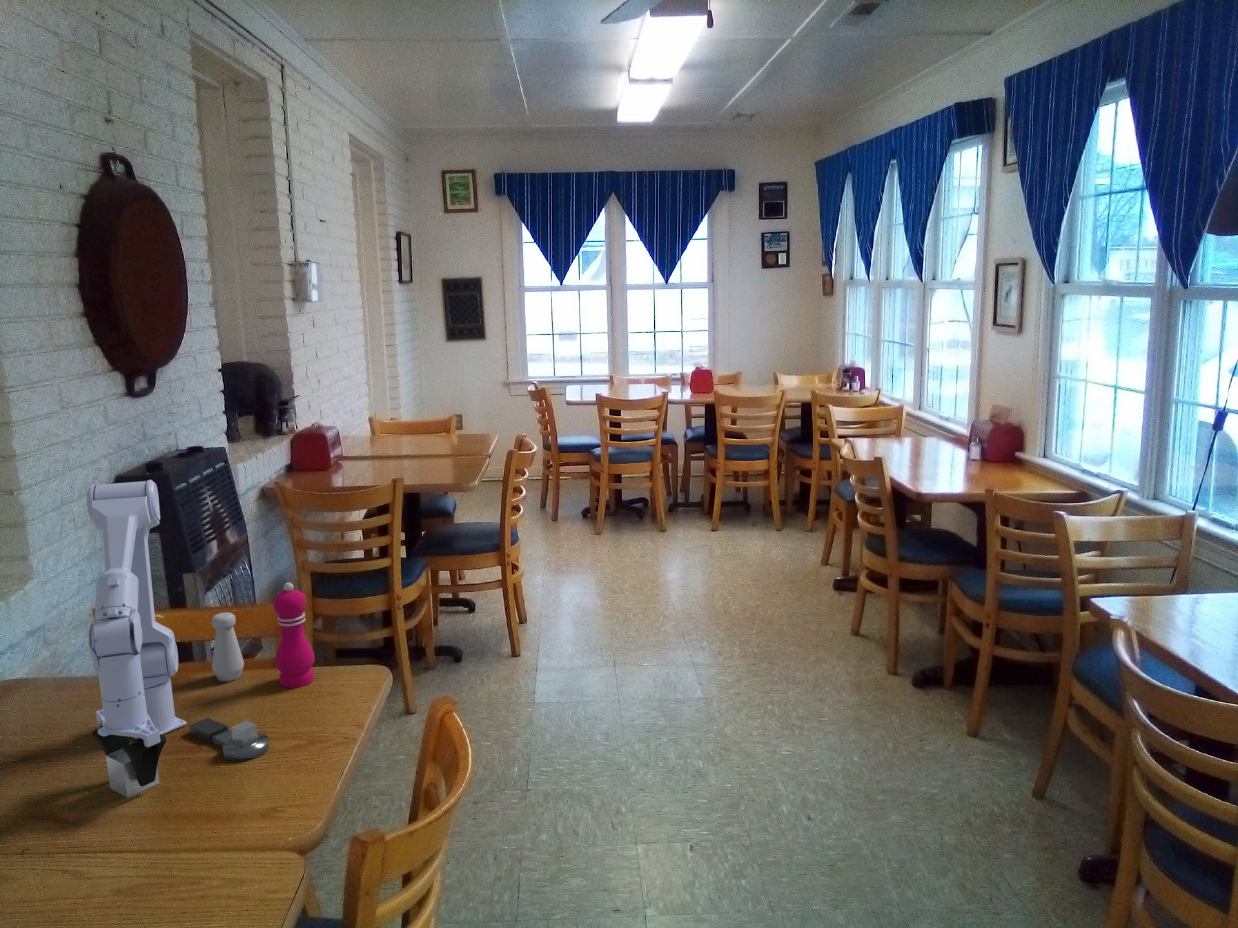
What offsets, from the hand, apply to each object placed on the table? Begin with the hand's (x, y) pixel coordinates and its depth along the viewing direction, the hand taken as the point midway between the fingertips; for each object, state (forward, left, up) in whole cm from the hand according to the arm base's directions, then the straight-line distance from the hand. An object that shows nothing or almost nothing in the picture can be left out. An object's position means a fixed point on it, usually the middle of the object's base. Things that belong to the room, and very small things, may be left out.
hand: (133, 775), depth 142 cm
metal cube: (0, 0, -2) cm, 2 cm away
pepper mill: (-11, +38, -2) cm, 40 cm away
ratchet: (0, +16, -2) cm, 16 cm away
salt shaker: (-24, +32, -2) cm, 40 cm away
